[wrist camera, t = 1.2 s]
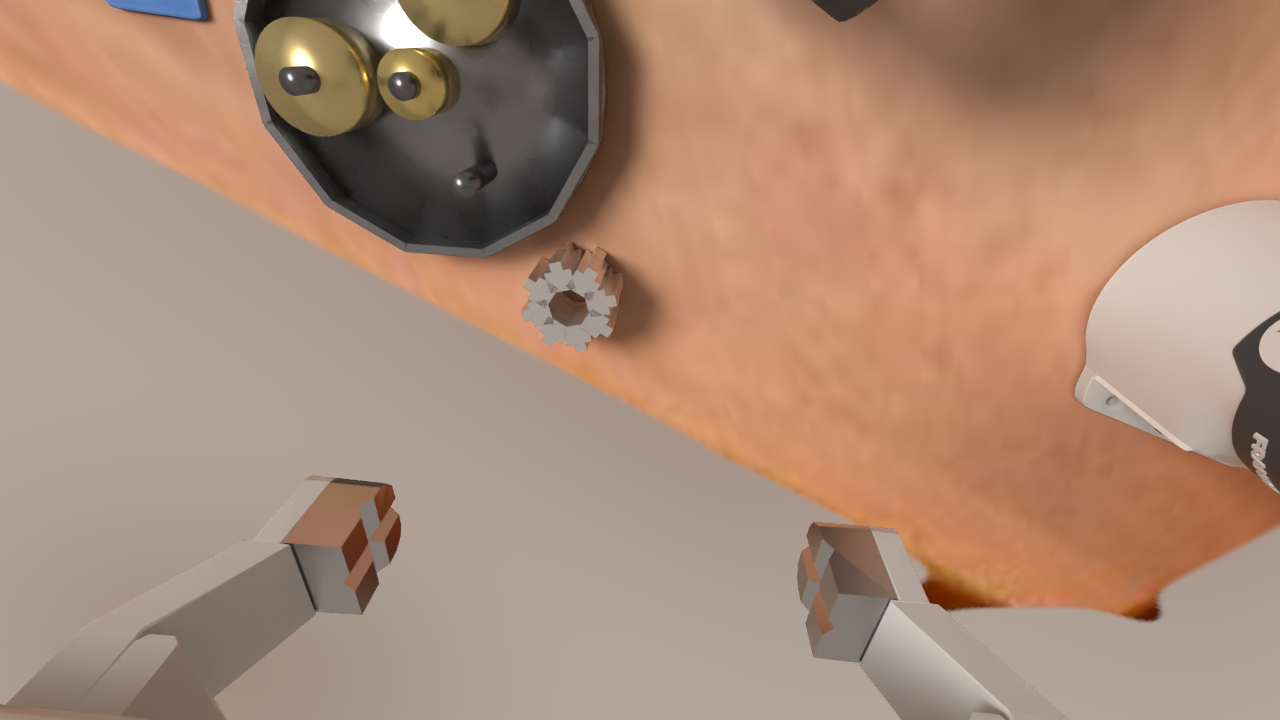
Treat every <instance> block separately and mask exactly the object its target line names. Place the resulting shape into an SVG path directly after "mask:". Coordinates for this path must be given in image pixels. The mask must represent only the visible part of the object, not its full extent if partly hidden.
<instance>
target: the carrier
mask: <svg viewBox="0 0 1280 720" xmlns="http://www.w3.org/2000/svg"><path fill="white" fill-rule="evenodd" d="M233 18H235V19H233V21H234V24H235V28H236V31H237V35H238V38H239V42H240V46H241V49H242V53H243V56H244V60H245V63H246V67H247V70H248V74H249V77H250V81H251V84H252V88H253V91H254V95H255V98H256V102H257V105H258V109H259V112H260V116H261V119H262V123H263V124H264V126H265V128H266V129H267V130H268V132H269V133H270V134H271V135H272V137H273V138H274V139H275V141H276V142H277V143H278V144H279V146H280V147H281V148H282V150H283V151H284V152H285V153H286V155H287V156H288V157H289V159H290V160H291V161H292V162H293V164H294V165H295V166H296V168H297V169H298V170H299V171H300V173H301V174H302V175H303V177H304V178H305V179H306V181H307V182H308V183H309V184H310V186H311V187H312V188H313V190H314V191H315V192H316V193H317V195H318V196H319V197H320V199H321V200H322V201H323V202H324V204H325V205H327V207H329V208H330V209H332V210H334V211H336V212H337V213H339V214H341V215H342V216H344V217H346V218H348V219H349V220H351V221H353V222H355V223H356V224H358V225H360V226H361V227H363V228H365V229H367V230H368V231H370V232H372V233H373V234H375V235H377V236H379V237H380V238H382V239H384V240H385V241H387V242H389V243H391V244H392V245H394V246H396V247H398V248H399V249H401V250H403V251H404V252H405V251H406V252H412V253H426V254H439V255H453V256H467V257H480V258H487V257H489V256H490V255H492V254H494V253H496V252H498V251H500V250H502V249H504V248H506V247H508V246H510V245H512V244H514V243H516V242H517V241H519V240H521V239H523V238H525V237H527V236H529V235H531V234H533V233H535V232H537V231H539V230H541V229H543V228H545V227H546V226H548V225H550V224H552V223H554V222H555V221H556V220H557V219H558V217H559V216H560V215H561V213H562V211H563V209H564V208H565V206H566V204H567V202H568V200H569V199H570V197H571V196H572V195H573V193H574V192H575V190H576V189H577V187H578V186H579V184H580V183H581V181H582V180H583V178H584V177H585V175H586V173H587V171H588V169H589V167H590V165H591V163H592V161H593V158H594V156H595V153H596V151H597V149H598V147H599V146H600V144H601V142H602V128H603V123H604V118H605V111H606V97H607V79H606V62H605V56H604V50H603V37H602V33H601V31H600V29H599V27H598V23H597V20H596V16H595V12H594V10H593V7H592V5H591V2H590V0H236V2H235V8H234V13H233Z"/></svg>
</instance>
